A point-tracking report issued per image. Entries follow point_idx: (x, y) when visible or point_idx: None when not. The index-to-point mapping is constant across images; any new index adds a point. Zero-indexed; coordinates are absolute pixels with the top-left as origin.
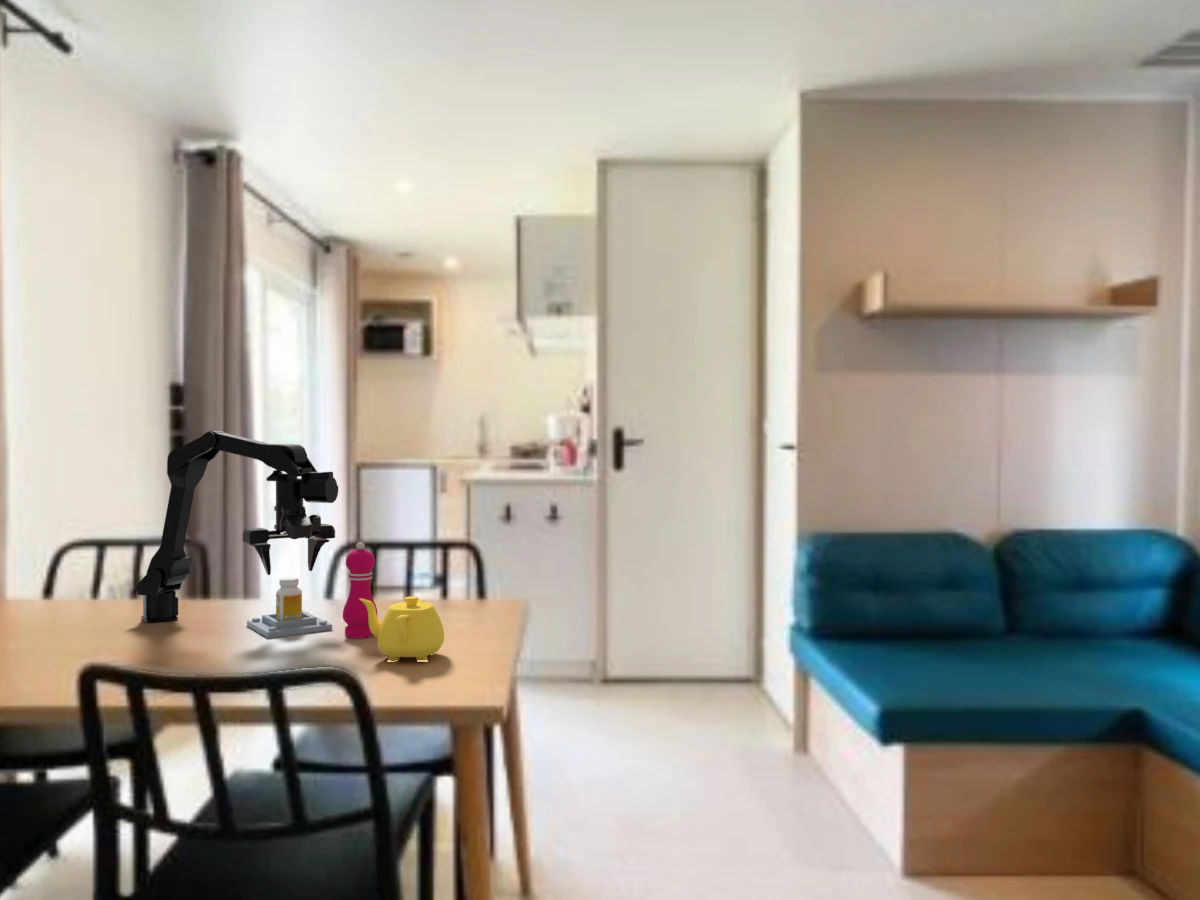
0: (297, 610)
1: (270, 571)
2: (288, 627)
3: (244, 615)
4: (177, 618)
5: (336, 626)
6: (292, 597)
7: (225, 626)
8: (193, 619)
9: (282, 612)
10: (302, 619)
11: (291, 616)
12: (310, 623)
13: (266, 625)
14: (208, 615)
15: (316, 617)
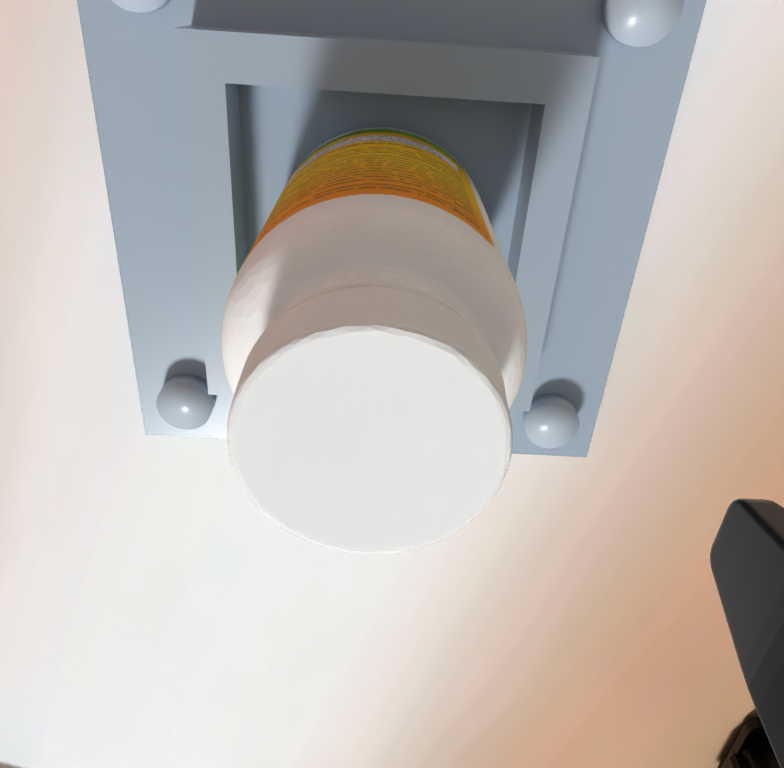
0: (337, 154)
1: (770, 532)
2: (468, 34)
3: (449, 658)
4: (751, 724)
5: (14, 27)
6: (393, 189)
7: (670, 497)
8: (685, 697)
9: (477, 198)
10: (326, 38)
11: (403, 140)
12: (252, 29)
13: (568, 238)
14: (585, 728)
15: (177, 28)
